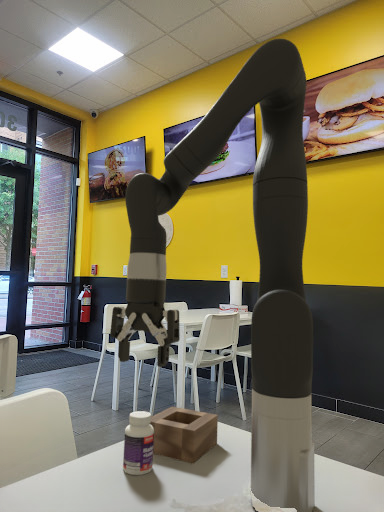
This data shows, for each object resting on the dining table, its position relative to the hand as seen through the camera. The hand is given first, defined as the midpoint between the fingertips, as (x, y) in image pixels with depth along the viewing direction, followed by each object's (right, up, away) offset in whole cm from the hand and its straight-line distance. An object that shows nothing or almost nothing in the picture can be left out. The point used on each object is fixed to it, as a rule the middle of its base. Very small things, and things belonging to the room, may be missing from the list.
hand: (142, 363), depth 70 cm
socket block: (+7, -20, +9) cm, 23 cm away
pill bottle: (-1, -19, -2) cm, 19 cm away
